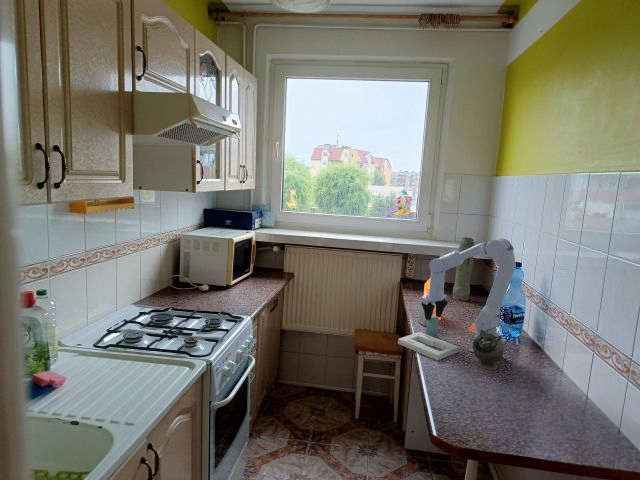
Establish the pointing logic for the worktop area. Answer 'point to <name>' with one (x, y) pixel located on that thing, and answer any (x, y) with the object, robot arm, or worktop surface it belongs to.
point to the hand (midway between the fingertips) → (433, 318)
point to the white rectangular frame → (421, 348)
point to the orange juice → (426, 292)
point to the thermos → (463, 272)
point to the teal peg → (432, 326)
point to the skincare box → (421, 313)
